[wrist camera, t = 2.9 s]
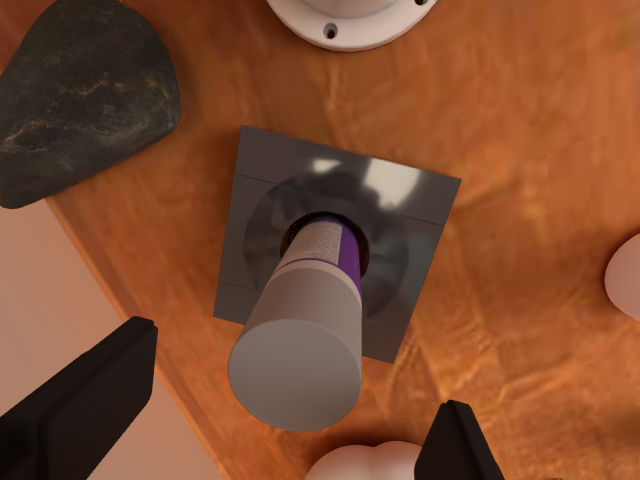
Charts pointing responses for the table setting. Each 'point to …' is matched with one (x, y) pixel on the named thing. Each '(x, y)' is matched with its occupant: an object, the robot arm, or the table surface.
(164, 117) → the stone
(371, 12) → the robot arm
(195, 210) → the table surface
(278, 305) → the container
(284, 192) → the plate
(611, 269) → the water bottle
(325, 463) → the cat figurine
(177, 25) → the table surface
